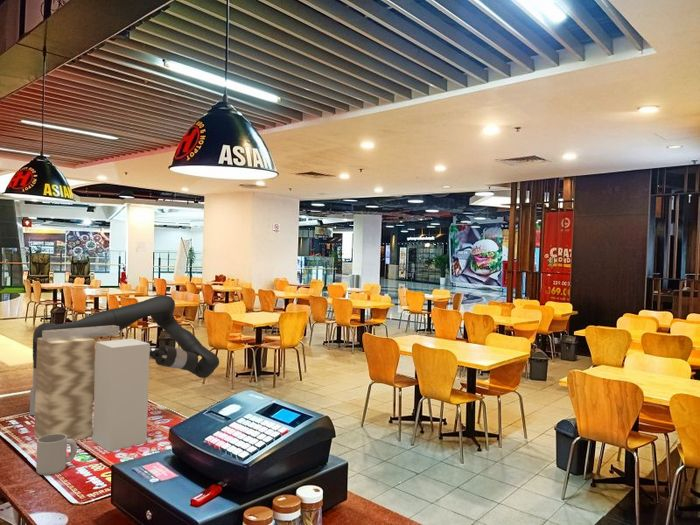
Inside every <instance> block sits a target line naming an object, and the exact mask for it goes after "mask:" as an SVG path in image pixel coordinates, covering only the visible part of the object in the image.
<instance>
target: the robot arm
mask: <svg viewBox="0 0 700 525" xmlns="http://www.w3.org/2000/svg"><path fill="white" fill-rule="evenodd" d="M175 307H176V301H175V300H174V298H173V297H171V296H169V295H163V294H162V295H157V296H154V297H150V298H147V299H145V300H142V301H139V302H135V303H131V304H128V305H124V306H120V307H119V306H118V307H114V308H110V309H106V310H105V309H104V310H102V311H98V312H95V313H92V314H90V315H88V316H85V317H83V318H81V319H77V320H75V321H71V322H66V323H61V324H60V323H59V324H56V323H53V322H43V323H40V324H39V325H38V326H37V327H36V328H35V329H34V331H33V333H32V334H33V335H32V361H33V362H32V367H33V368H32V370H33V371H32V388H31V389H30V392H29V393H30V394H29V416H35V394H36V361H37V338H42V331H43V330H57V329H70V328H83V327H96V326H109V325H116V326H119V332H120V331H122V330H124V329H126V328H128V327H130V326H132V325H133V324H135V323H136V322H137V321H140V320H142V319H145V318H147V317H151V319H152V320H153V322H155V323H156V324H157V325H158V326H159V327H160V328H161V329H163V331H165V332H166V333H167V334H168V335H169V337H170V338H172V339H173V340H174V342H176V343H177V345H178V346H179V347H180V348H177V347H173V346H170V345H165V344H164V345H161V346H159V347H158V348H156V347H153V346H152V347H151V346H150V355H149V359H152V360H155V363H156V365H158V366H160V367H161V366H162V367H165V368H171V369H178V370H184V371H188V372H189V373H191V374H193V375H194V376H196V377H198V378H200V379H206V378H208V377H210V376H211V375H212V373H213V372H214V371H216V369H217V368H218V367H219V365H220V359H219V356H218V355H217V354H215V353H214V352H213V351H211V350H209V349H208V348H207V347H206V346H204V345H203V344H202V343H201V341H200V340H199V339H198V338H197V337H196V336H195V335H194V333H192V332H191V331H189V330H188V329H186V328H184V327H183V326H181V325H180V324H179V322H178V321H177V319H176V318H175V317H174V316H175V315H174V311H175ZM199 357H201V359H199Z"/></svg>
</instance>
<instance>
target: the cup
mask: <svg viewBox="0 0 700 525" xmlns="http://www.w3.org/2000/svg"><path fill="white" fill-rule="evenodd" d="M68 445H69V446H70V453H69V455H68V456H67V450H68V448H67V447H68ZM77 451H78V445H77V442H76V440H73V439H67V436H66V435H64V434H50V435H45V436H42V437H40V438H37V439H36V463H35V470H36V473H37V474H38V475H41V476H51V475H56V474H59V473H62V472H63V471H65V469H66V466H67V463H69V462H71V461H73V460H74V458H75V457H76V455H77Z"/></svg>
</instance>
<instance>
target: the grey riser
mask: <svg viewBox="0 0 700 525" xmlns="http://www.w3.org/2000/svg"><path fill="white" fill-rule="evenodd" d="M95 345H96V356H95V387H94V398H93V417H92V443H95V444H96V445H98V446H99V447H101V448H103V449H104V450H105V451H107V452H108V453H109V452H113V451H118V450H121V449H126V448H130V447H133V446H137V445H140V444H144V443H147V438H148V437H147V436H148V435H147V434H148V411H149V410H148V409H149V382H150V377H149V376H150V358H149V355H150V347H151V343H150V342H149V343H148V342H146V341H142V340H138V339H135V338H125V339H123V338H122V339H115V340H106V341H105V340H104V341H103V340H101V341H95Z"/></svg>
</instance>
